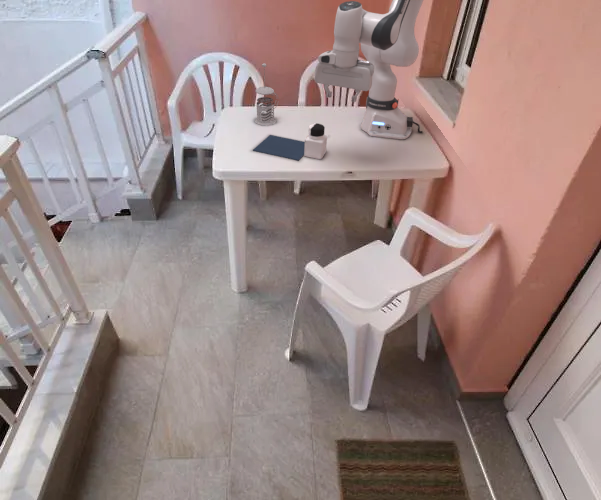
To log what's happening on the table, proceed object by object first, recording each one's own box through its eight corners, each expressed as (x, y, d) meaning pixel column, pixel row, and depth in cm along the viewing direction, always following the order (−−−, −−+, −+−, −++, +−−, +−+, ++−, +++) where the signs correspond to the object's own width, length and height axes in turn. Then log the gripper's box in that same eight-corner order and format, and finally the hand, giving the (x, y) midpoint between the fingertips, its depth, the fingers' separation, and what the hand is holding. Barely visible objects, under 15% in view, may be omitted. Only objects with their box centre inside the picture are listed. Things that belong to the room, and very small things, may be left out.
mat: (313, 144, 172) (313, 143, 172) (298, 160, 160) (298, 159, 160) (270, 135, 177) (270, 134, 177) (252, 150, 166) (252, 149, 166)
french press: (250, 119, 190) (247, 62, 174) (271, 114, 195) (270, 58, 180) (262, 127, 184) (260, 68, 168) (283, 121, 189) (283, 63, 174)
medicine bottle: (326, 152, 167) (328, 123, 159) (321, 159, 161) (323, 130, 154) (309, 149, 168) (310, 120, 161) (303, 156, 163) (305, 127, 156)
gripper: (377, 60, 138) (371, 101, 147) (320, 51, 144) (318, 92, 153) (372, 64, 134) (366, 107, 143) (313, 56, 139) (311, 97, 148)
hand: (341, 99), depth 148 cm, fingers open, 8 cm apart
